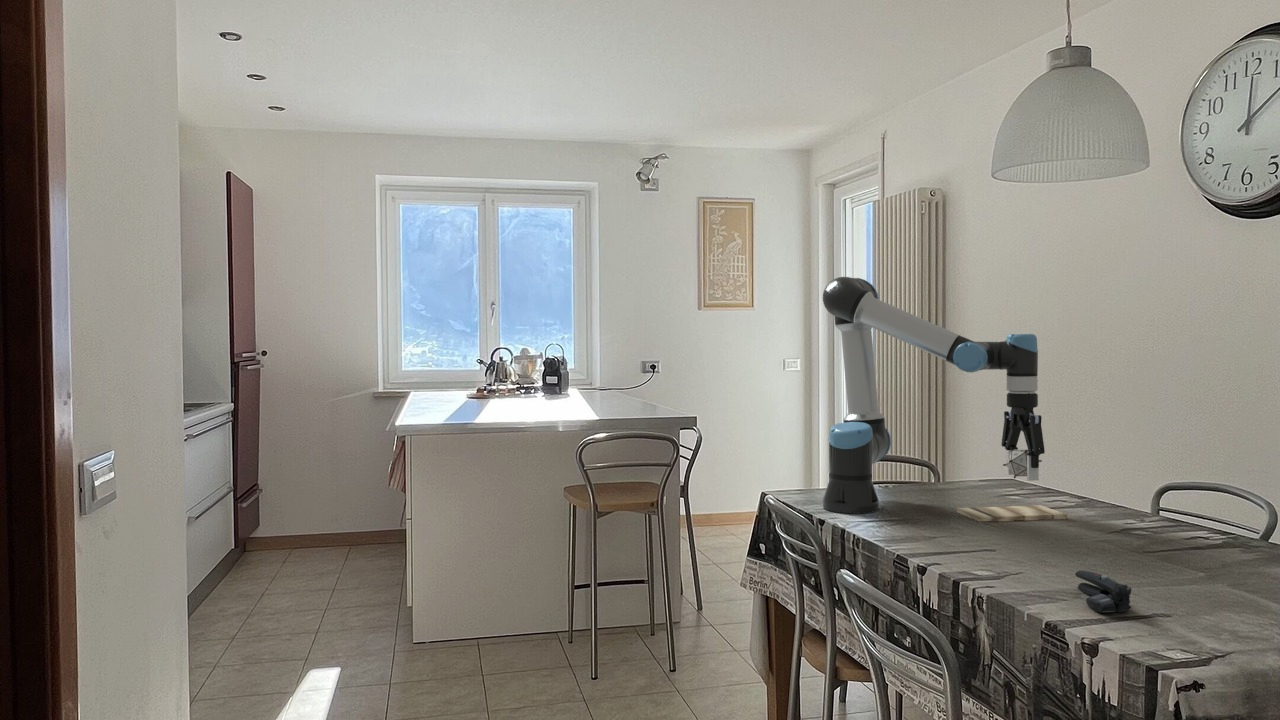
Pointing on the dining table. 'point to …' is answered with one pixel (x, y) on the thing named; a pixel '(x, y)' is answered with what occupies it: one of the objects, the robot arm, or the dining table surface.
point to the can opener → (1104, 593)
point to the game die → (1018, 462)
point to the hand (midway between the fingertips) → (1022, 477)
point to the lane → (1011, 513)
